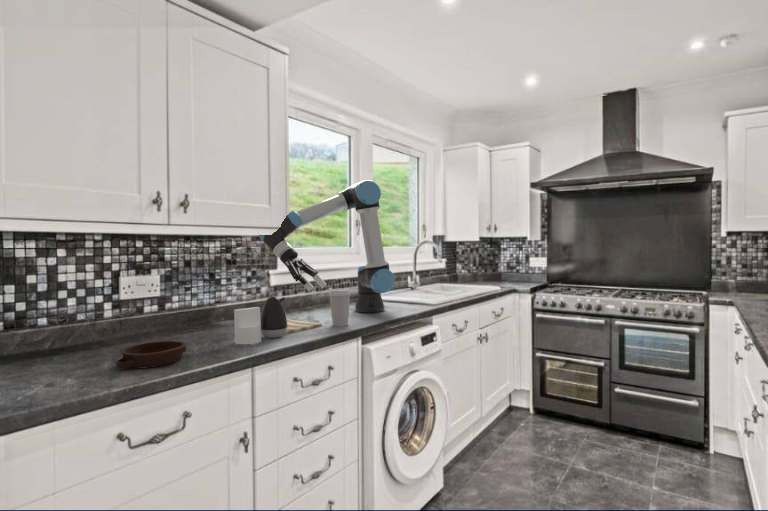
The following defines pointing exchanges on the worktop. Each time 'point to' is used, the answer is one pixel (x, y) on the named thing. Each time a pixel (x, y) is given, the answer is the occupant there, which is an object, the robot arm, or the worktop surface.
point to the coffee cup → (340, 306)
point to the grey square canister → (247, 325)
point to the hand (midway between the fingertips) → (318, 287)
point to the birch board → (299, 326)
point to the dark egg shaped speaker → (273, 318)
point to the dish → (151, 354)
